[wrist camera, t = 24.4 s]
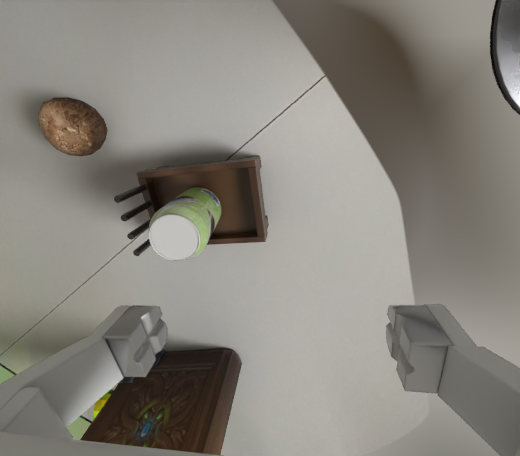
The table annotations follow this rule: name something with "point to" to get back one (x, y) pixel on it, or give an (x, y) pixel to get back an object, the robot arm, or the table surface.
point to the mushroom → (72, 126)
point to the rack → (218, 182)
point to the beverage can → (185, 224)
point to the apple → (101, 403)
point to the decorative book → (172, 404)
